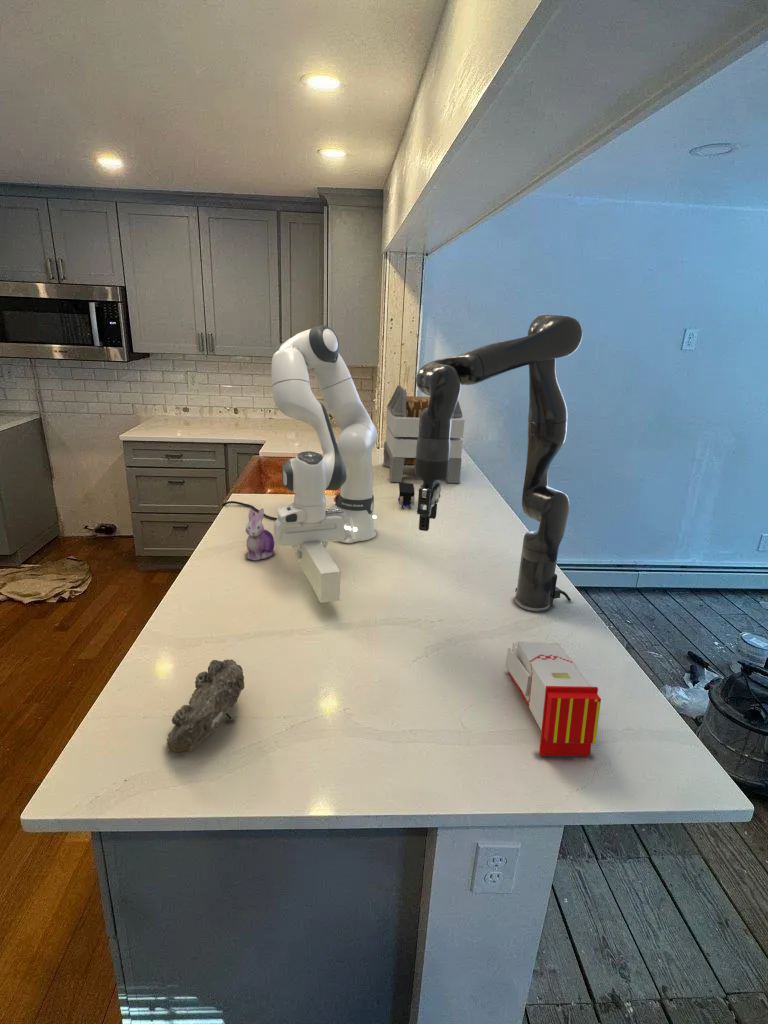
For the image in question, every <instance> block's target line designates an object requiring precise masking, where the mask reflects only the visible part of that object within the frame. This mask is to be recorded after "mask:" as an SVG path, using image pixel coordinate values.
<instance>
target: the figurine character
mask: <svg viewBox="0 0 768 1024" xmlns="http://www.w3.org/2000/svg"><path fill="white" fill-rule="evenodd" d="M398 489H399V494H398V498H397V501H398V505H399V506H401V509H405V508H404V507H408V509H409V510H410V509H412V507H411V506H414V505H415V493H416V492H415V485H414V483H413V482H412V483H410V482H398Z"/></svg>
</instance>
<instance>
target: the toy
mask: <svg viewBox="0 0 768 1024" xmlns="http://www.w3.org/2000/svg"><path fill="white" fill-rule="evenodd" d="M511 646H512V647H508V648H507V653H506V658H505V659H506V660H505V668H506V669H507V671H508V675H509V676H510V677H511V679H512V681H513V682H514V684H515V686H516V688H517V689H518V691H519V693H520V694H521V696H522V698H523V700H524V702H525V703H526V705H527V706H528V708H529V710H530V712H531V715H532V716H533V718H534V720H535V722H536V723H537V724H536V725H537V726H538V727H539V730H540V731H541V733H540V739H539V740H540V741H539V749H538V751H539V752H538V754H539V756H543V757H548V756H550V757H551V756H552V757H553V756H554V757H568V756H569V757H591V751H592V744H596V743H597V734H598V726H599V717H600V710H601V702H602V698H601V697H600V696H599V694H598V693H599V688H598V686H592V684H590V682H589V681H588V680H587V678H586V677H585V676H584V675H583V673H582V672H581V671H580V669H579V668H578V667H577V665H576V664H575V663H574V661H573V660H572V659H571V658H570V656H569V655H568V654H567V652H566V651H565V649H564V647H562V645H561V644H560V643H559V642H553V641H551V642H549V641H548V642H547V641H546V642H545V641H517V642H512V645H511Z"/></svg>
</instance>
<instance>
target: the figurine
mask: <svg viewBox="0 0 768 1024" xmlns="http://www.w3.org/2000/svg"><path fill="white" fill-rule="evenodd" d="M258 510H259V512H257V513H255V510H254V509H252V508H250V510H248V522H247V524H246V526H245V533H246V534H247V538H246V542H245V543H246V548H247V550H248V551H247V559H248V560H252V561H259V560H265V559H267V558H270V557H272V556H273V555H274V552H275V551H274V550H275V543H274V541H273V533H271V532H270V531H269V530H268V529H265V526H264V523H263V519H264V516H263V515H264V514H265V509H264V508H260V509H258Z"/></svg>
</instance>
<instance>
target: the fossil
mask: <svg viewBox="0 0 768 1024" xmlns="http://www.w3.org/2000/svg"><path fill="white" fill-rule="evenodd" d="M243 670H244V669H243V667H242V665H240V664H237V662H236V661H235V660H234V659H232V658H231V659H227V658H226V659H224V660H223V661H222V660H217V659H212V660H211V661H210V663H209V665H208V666H207V671H201V672H199V673H198V674H197V675H196V676H195V680H194V684H195V685H194V687H195V689H194V690H193V693H192V694H191V697H190V698H189V700H188V704H184V705H182V706H181V707H180V709H177V710H176V711H175V713H174V715H173V716H172V718H171V723H172V724H173V727H172V730H171V731H170V732H168V734H167V738H166V741H167V742H166V745H167V749H168V750H169V751H173V752H174V753H176V754H178V753H182V752H188V751H189V752H192V751H193V750H195V748H196V747H197V746H199V744H200V743H201V742H203V741H204V740H205V739H206V738H207V737H208V736H209V735H210V734H211V733H212V732H214V730H215V729H217V727H218V726H219V724H220V722H221V721H222V720H223V719H224V718H225V716H226V717H227V719H229V720H233V717H232V715H230V714H229V710H230V709H231V708H234V706H235V704H236V703H237V702H238V699H239V697H240V695H241V693H242V691H243V690H245V689H244V688H245V675H244V671H243Z"/></svg>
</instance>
